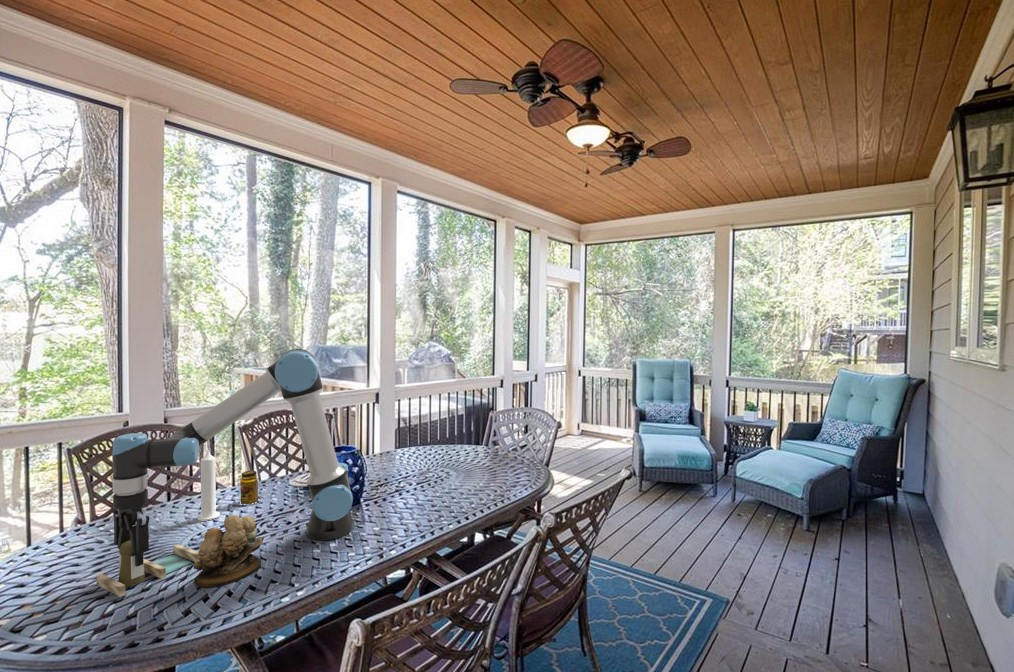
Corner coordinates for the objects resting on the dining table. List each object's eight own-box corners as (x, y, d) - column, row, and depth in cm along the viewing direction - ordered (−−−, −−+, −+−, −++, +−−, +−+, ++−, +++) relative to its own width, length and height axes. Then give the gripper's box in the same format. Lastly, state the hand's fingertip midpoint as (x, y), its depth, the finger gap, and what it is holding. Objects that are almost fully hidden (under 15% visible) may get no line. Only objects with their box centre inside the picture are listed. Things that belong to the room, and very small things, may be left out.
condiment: (238, 506, 183) (237, 475, 182) (240, 498, 191) (240, 469, 190) (259, 503, 186) (259, 473, 185) (261, 496, 193) (261, 467, 193)
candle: (192, 518, 171) (192, 450, 170) (212, 511, 177) (212, 446, 176) (204, 522, 168) (203, 453, 167) (224, 515, 174) (223, 448, 173)
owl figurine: (253, 554, 146) (254, 500, 146) (271, 567, 139) (272, 510, 138) (186, 578, 132) (187, 518, 131) (203, 594, 125) (203, 531, 124)
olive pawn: (114, 588, 127) (114, 548, 126) (120, 577, 132) (120, 539, 132) (142, 583, 129) (142, 544, 129) (147, 572, 135) (147, 534, 134)
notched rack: (231, 547, 150) (231, 539, 150) (120, 596, 123) (120, 587, 123) (208, 539, 156) (208, 531, 156) (96, 584, 128) (96, 575, 128)
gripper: (164, 492, 129) (165, 575, 130) (128, 481, 137) (129, 559, 138) (132, 501, 122) (134, 589, 123) (97, 489, 130) (98, 571, 131)
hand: (131, 573), depth 131 cm, fingers closed on olive pawn, 5 cm apart
